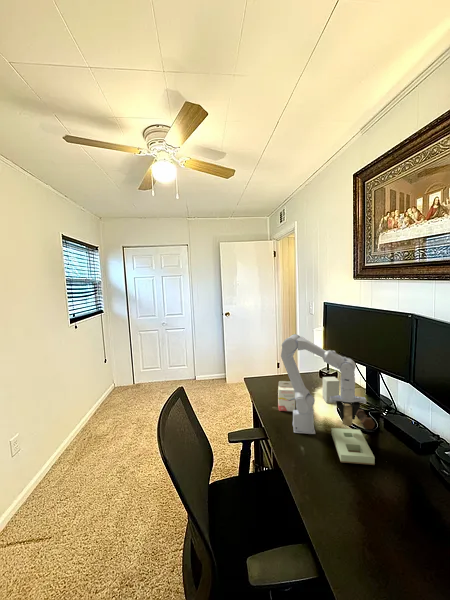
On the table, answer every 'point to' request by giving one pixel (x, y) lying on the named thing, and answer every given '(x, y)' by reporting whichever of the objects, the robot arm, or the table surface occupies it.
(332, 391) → the supplement box
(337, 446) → the socket block
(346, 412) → the pin
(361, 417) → the bolt
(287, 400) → the ink cartridge box
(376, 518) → the table surface
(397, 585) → the table surface
